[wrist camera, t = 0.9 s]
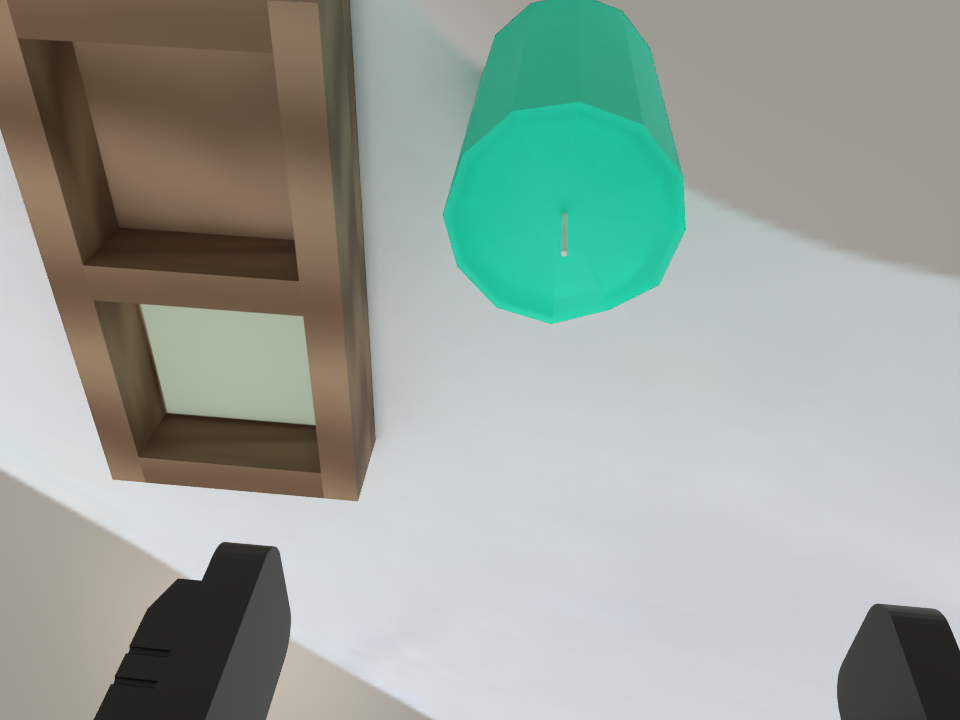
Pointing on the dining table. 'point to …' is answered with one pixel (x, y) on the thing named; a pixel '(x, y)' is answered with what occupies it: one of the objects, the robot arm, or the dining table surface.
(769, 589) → the dining table surface
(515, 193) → the candle
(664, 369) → the dining table surface
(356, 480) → the slot rack
